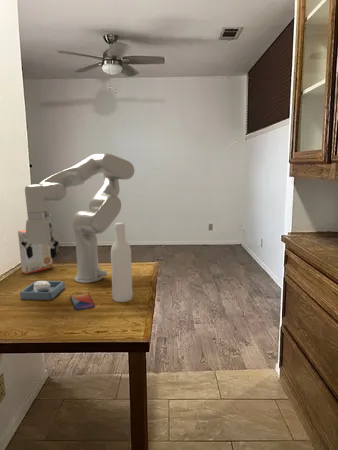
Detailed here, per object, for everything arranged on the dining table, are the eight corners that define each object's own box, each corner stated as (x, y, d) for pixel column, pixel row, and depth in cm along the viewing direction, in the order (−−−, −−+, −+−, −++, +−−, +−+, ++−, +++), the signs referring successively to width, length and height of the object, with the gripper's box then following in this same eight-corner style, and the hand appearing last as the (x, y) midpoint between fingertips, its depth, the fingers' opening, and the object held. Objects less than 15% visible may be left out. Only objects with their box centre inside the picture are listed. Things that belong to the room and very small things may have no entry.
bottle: (113, 295, 143) (110, 221, 138) (132, 294, 144) (130, 221, 138) (111, 302, 135) (108, 225, 130) (132, 301, 136) (130, 224, 131)
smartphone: (74, 312, 128) (74, 309, 128) (70, 297, 142) (70, 294, 142) (95, 309, 131) (95, 306, 131) (88, 294, 145) (88, 292, 144)
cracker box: (47, 266, 185) (44, 226, 181) (53, 268, 181) (50, 227, 177) (21, 272, 175) (17, 230, 172) (26, 274, 171) (22, 232, 167)
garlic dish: (65, 287, 152) (64, 281, 152) (51, 299, 139) (51, 293, 138) (35, 286, 154) (35, 280, 153) (19, 299, 140) (19, 292, 139)
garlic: (52, 291, 142) (53, 282, 143) (35, 292, 139) (35, 282, 139) (48, 289, 149) (48, 280, 149) (31, 289, 146) (31, 280, 146)
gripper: (62, 214, 144) (66, 254, 147) (21, 214, 145) (25, 254, 148) (55, 217, 136) (58, 260, 139) (12, 217, 138) (16, 260, 141)
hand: (41, 257), depth 144 cm, fingers open, 9 cm apart
